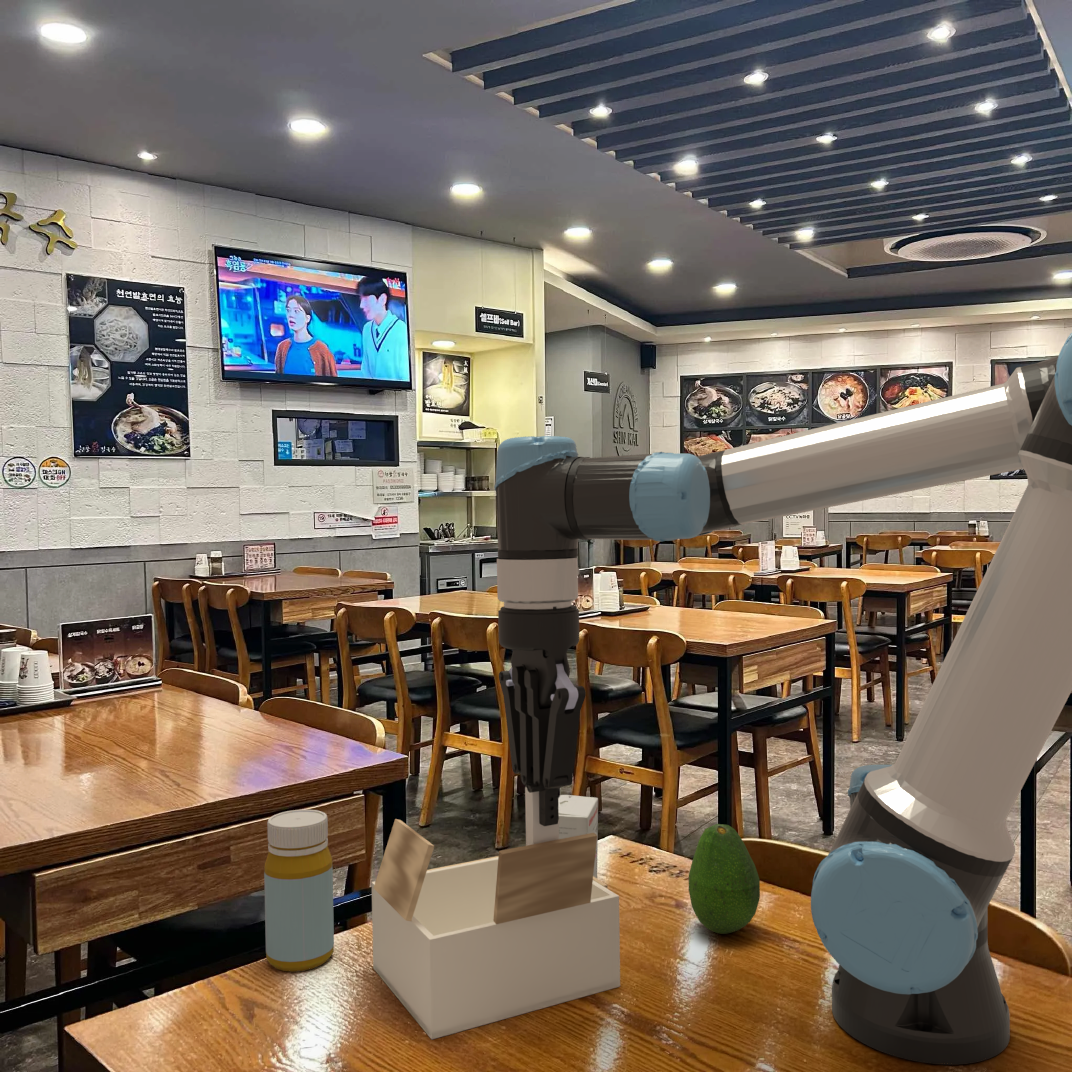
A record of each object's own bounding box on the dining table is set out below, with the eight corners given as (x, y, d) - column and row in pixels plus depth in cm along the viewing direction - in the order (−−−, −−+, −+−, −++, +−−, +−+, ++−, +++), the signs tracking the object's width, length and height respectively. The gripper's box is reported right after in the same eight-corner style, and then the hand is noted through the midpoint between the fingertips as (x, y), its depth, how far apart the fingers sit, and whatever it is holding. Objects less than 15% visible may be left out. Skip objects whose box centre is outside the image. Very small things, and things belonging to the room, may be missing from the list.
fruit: (674, 933, 110) (673, 825, 110) (713, 911, 116) (712, 809, 115) (736, 954, 105) (735, 841, 104) (774, 930, 110) (773, 823, 110)
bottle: (274, 979, 100) (271, 832, 100) (259, 953, 106) (257, 814, 106) (342, 964, 103) (339, 821, 103) (323, 939, 110) (321, 804, 109)
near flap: (590, 902, 95) (597, 835, 93) (496, 924, 90) (501, 854, 88) (587, 899, 95) (593, 832, 94) (493, 920, 90) (498, 850, 89)
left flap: (411, 921, 91) (434, 845, 92) (405, 920, 91) (428, 844, 92) (378, 889, 99) (400, 820, 100) (373, 888, 99) (395, 818, 100)
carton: (627, 984, 98) (626, 894, 98) (431, 1039, 88) (429, 939, 88) (545, 923, 113) (544, 845, 113) (370, 964, 103) (369, 879, 103)
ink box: (589, 916, 115) (588, 815, 115) (547, 913, 116) (545, 813, 116) (599, 888, 123) (598, 794, 123) (559, 886, 124) (558, 792, 124)
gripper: (610, 606, 88) (614, 870, 88) (541, 597, 99) (545, 830, 100) (535, 612, 84) (540, 886, 85) (472, 601, 96) (477, 843, 96)
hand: (542, 855), depth 92 cm, fingers closed
